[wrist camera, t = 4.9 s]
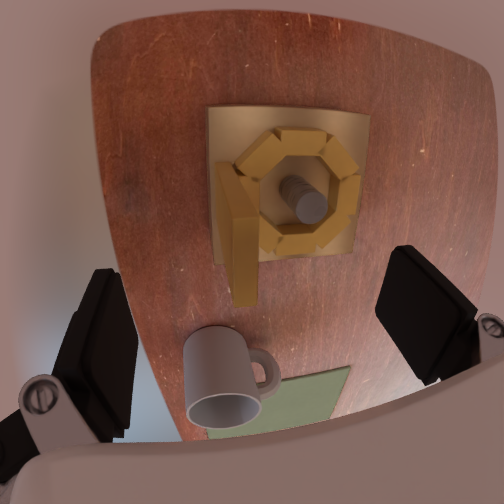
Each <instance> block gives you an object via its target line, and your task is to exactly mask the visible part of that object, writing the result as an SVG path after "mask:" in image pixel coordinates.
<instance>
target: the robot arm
mask: <svg viewBox="0 0 504 504" xmlns="http://www.w3.org/2000/svg"><path fill="white" fill-rule="evenodd" d="M477 311H478V309H477V308H476V307H475V306H474V305H473V304H472V303H471V302H470V301H469V300H468V299H467V298H466V297H465V296H464V295H463V293H462V292H461V291H460V290H459V289H458V288H457V287H456V286H455V285H454V284H452V283H451V282H450V281H449V280H448V279H447V278H446V277H445V276H444V275H443V274H442V273H441V272H440V271H439V270H438V269H437V268H436V267H435V266H434V265H433V264H432V263H430V262H429V261H428V260H427V259H426V258H425V257H424V256H423V255H422V254H421V253H420V252H418V251H417V250H416V249H415V248H414V247H413V246H411V245H403V246H397V247H396V248H395V249H394V250H393V251H392V252H391V255H390V259H389V263H388V266H387V270H386V274H385V277H384V281H383V284H382V287H381V291H380V294H379V297H378V300H377V304H376V307H375V313H376V316H377V318H378V319H379V321H380V322H381V323H382V325H383V326H384V328H385V329H386V331H387V332H388V334H389V335H390V337H391V338H392V340H393V341H394V343H395V344H396V346H397V347H398V349H399V350H400V352H401V353H402V355H403V356H404V358H405V359H406V361H407V363H408V364H409V366H410V367H411V369H412V370H413V372H414V373H415V375H416V377H417V378H418V379H420V380H422V382H423V384H424V385H425V386H427V385H430V384H432V383H434V382H436V381H437V379H438V378H440V379H441V382H439V383H437V384H435V385H432V386H430V387H427V388H425V389H422V390H420V391H417V392H415V393H412V394H410V395H407V396H404V397H402V398H399V399H396V400H393V401H390V402H388V403H385V404H382V405H379V406H376V407H372V408H369V409H366V410H363V411H359V412H356V413H353V414H349V415H345V416H342V417H338V418H334V419H330V420H326V421H322V422H318V423H314V424H309V425H305V426H300V427H295V428H290V429H285V430H279V431H274V432H268V433H261V434H255V435H248V436H240V437H231V438H222V439H210V440H197V441H182V442H146V443H145V442H143V443H142V442H140V443H139V442H137V443H113V438H124V429H129V427H130V416H131V404H132V392H133V383H134V374H135V366H136V358H137V350H138V334H137V331H136V328H135V325H134V322H133V318H132V315H131V312H130V308H129V305H128V301H127V298H126V294H125V291H124V287H123V283H122V280H121V276H120V274H119V273H115V272H114V270H113V269H112V268H109V269H96V270H95V271H94V273H93V275H92V278H91V280H90V282H89V284H88V287H87V289H86V291H85V293H84V296H83V299H82V301H81V303H80V305H79V308H78V310H77V311H76V312H74V314H73V316H72V318H71V321H70V323H69V326H68V328H67V331H66V334H65V336H64V339H63V342H62V345H61V347H60V350H59V353H58V356H57V359H56V362H55V365H54V368H53V371H52V374H51V375H47V374H42V375H38V376H35V377H32V378H31V379H30V380H28V381H27V382H26V383H25V384H24V386H23V387H22V389H21V391H20V393H19V399H18V402H19V407H20V409H18V410H17V411H15V412H14V413H12V414H11V415H10V416H8V417H7V418H5V419H4V420H2V421H1V422H0V504H504V322H503V321H502V320H501V319H500V318H498V317H497V316H495V315H493V314H489V313H485V314H481V315H480V316H479V318H478V319H477V321H475V319H474V317H475V315H476V313H477Z"/></svg>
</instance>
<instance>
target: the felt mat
mask: <svg viewBox="0 0 504 504" xmlns="http://www.w3.org/2000/svg"><path fill="white" fill-rule="evenodd" d="M350 368H351V367H350V366H346V367H342V368H338V369H333V370H329V371H324V372H320V373H315V374H310V375H305V376H300V377H294V378H289V379H283V380H281V384H280V388H279V389H278V391H277V392H276V393H275V394H274V395H273V396H272V397H270V398H268V399H266V400H262V401H261V405H262V410H261V413H260V414H259V415H258V417H256V418H255V419H254V420H252V421H251V422H249V423H247V424H245V425H242V426H239V427H235V428H229V429H207V428H206V430H207V434H208V437H209V439H219V438H228V437H237V436H244V435H251V434H258V433H264V432H270V431H276V430H281V429H286V428H291V427H296V426H301V425H305V424H310V423H314V422H318V421H322V420H326V419H329V418H330V416H331V413H332V411H333V409H334V407H335V404H336V402H337V400H338V398H339V395H340V393H341V391H342V388H343V386H344V383H345V381H346V378H347V376H348V373H349V371H350ZM263 384H265V383H258V384H256V385H257V386H259V385H263Z"/></svg>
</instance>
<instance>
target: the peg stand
mask: <svg viewBox="0 0 504 504" xmlns="http://www.w3.org/2000/svg"><path fill="white" fill-rule="evenodd" d="M205 113H206V156H207V184H208V206H209V226H210V238H211V246H212V253H213V260H214V265H225V262H224V257H223V252H222V247H221V242H220V237H219V232H218V227H217V221H216V201H215V170H214V163H215V162H230V163H231V165H232V167H233V168H234V170H239V169H238V168H237V166H236V165H235V163H234V161H235V160H236V159H237V158H238V157H239V156H240V155H241V154H242V153H243V152H244V151H245V150H246V149H248V148H249V147H250V146H251V145H252V144H253V143H254V142H255V141H256V140H257V139H258V138H259V137H260V136H261V135H262V134H263V133H264V132H265V131H266V130H267V131H269V132H271V133H273V134H274V132H275V127H299V128H317V129H320V130H323V131H326V132H327V133H328V134H331V135H334V136H335V137H336V138H337V139H338V140H339V142H340V143H341V144H342V146H343V147H344V148H345V149H346V151H347V152H348V153H349V155H350V156H351V157H352V159H353V160H354V161H355V163H356V164H357V165H358V167H359V169H358V170H357V171H356V173H357V174H359V175H361V179H360V186H359V194H358V201H357V207H356V214H355V215H347V216H348V218H349V219H350V220H351V223H350V224H349V225H348V226H347V227H346V228H345V229H344V230H342V231H341V232H340V233H339V234H338V235H337V236H336V237H335V238H334V239H333V240H332V241H331V242H330V243H329V244H328V245H326V246H325V247H324V248H323V249H321V248H320V247H319V246H318V245H317V244H316V249H315V253H306V254H295V255H283V256H275V254H274V252H273V250H272V251H271V252H270V253H269V254H267V253H266V252H265V251H264V250H263V249H261V248H260V247H259V261H271V260H282V259H293V258H304V257H315V256H325V255H336V254H347V253H352V251H353V246H354V240H355V235H356V229H357V223H358V217H359V211H360V205H361V198H362V191H363V184H364V177H365V169H366V160H367V151H368V142H369V131H370V119H371V115H368V114H363V113H358V112H352V111H347V110H341V109H333V108H322V107H310V106H294V105H270V104H224V105H206V106H205ZM329 182H330V173H329V172H328V171H327V169H326V168H325V167H324V166H323V165H322V164H321V162H320V161H319V160H318V159H317V158H316V157H315V156H285V157H284V158H283V159H282V160H281V161H280V162H279V163H278V164H277V165H276V166H275V167H274V168H273V169H272V170H271V171H270V172H269V173H268V174H267V175H266V176H265V177H264V178H263V179H262V180H261V181H260V211H261V212H262V213H263V214H265V215H266V216H267V217H268V218H269V219H270V220H271V221H272V222H273V223H274V224H275V225H290V224H314V223H317V222H319V221H320V220H321V219H322V218H323V217H324V216H325V215H326V213H327V209H328V202H327V201H328V192H329Z"/></svg>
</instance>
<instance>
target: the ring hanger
mask: <svg viewBox="0 0 504 504" xmlns="http://www.w3.org/2000/svg"><path fill="white" fill-rule="evenodd" d="M285 156H315V157H316V158H317V159H318V160H319V161H320V162H321V164H322V165H323V166H324V167H325V168H326V169H327V171H328V172H329V173H330V182H329V192H328V201H327V202H328V209H327V213H326V215H325V216H324V217H323V218H322V219H321V220H320V221H319V222H317V223H314V224H290V225H275V224H274V223H273V222H272V221H271V220H270V219H269V218H268V217H267V216H266V215H265V214H263V213H262V212H261V211H260V181H261V180H262V179H263V178H264V177H265V176H266V175H267V174H268V173H269V172H270V171H271V170H272V169H273V168H274V167H275V166H276V165H277V164H278V163H279V162H280V161H281V160H282V159H283V158H284V157H285ZM234 163H235V165H236V166H237V168H238V169H239V170H234V168H233V167H232V165H231V163H230V162H215V163H214V170H215V201H216V221H217V227H218V232H219V237H220V242H221V247H222V252H223V257H224V262H225V267H226V272H227V277H228V281H229V286H230V291H231V296H232V301H233V305H234V307H235V308H239V307H248V306H256V305H257V304H258V268H259V247H260V248H261V249H263V250H264V251H265V252H266V253H267V254H269V253H270V252H271V251H272V250H273V252H274V254H275V256H283V255H295V254H306V253H315V249H316V244H317V245H318V246H319V247H320V248H321V249H323V248H324V247H325V246H326V245H328V244H329V243H330V242H331V241H332V240H333V239H334V238H335V237H336V236H337V235H338V234H339V233H340V232H341V231H342V230H344V229H345V228H346V227H347V226H348V225H349V224H350V223H351V220H350V219H349V218H348V216H347V215H355V214H356V207H357V201H358V194H359V186H360V179H361V175H359V174H357V173H356V171H357V170H358V169H359V167H358V165H357V164H356V163H355V161H354V160H353V159H352V157H351V156H350V155H349V153H348V152H347V151H346V149H345V148H344V147H343V146H342V144H341V143H340V142H339V140H338V139H337V138H336V137H335V136H334V135H331V134H328V133H327V132H326V131H323V130H320V129H317V128H299V127H275V132H274V134H273V133H271V132H269V131H267V130H266V131H265V132H264V133H263V134H262V135H261V136H260V137H259V138H258V139H257V140H256V141H255V142H254V143H253V144H252V145H251V146H250V147H249V148H248V149H246V150H245V151H244V152H243V153H242V154H241V155H240V156H239V157H238V158H237V159H236V160H235V161H234Z"/></svg>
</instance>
